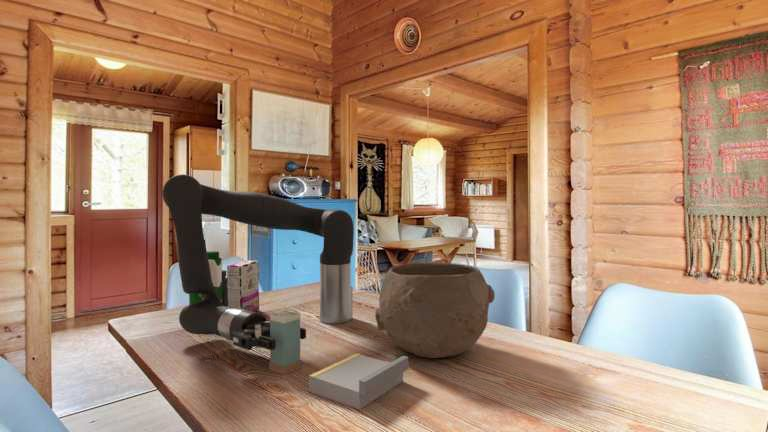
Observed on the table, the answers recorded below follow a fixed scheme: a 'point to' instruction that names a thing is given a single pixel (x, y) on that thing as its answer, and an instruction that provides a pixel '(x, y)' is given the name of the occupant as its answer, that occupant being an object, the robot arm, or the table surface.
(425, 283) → the bowl
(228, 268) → the candy bar box
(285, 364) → the teal tall block
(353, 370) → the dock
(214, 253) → the milk carton
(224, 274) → the supplement bottle
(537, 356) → the table surface
